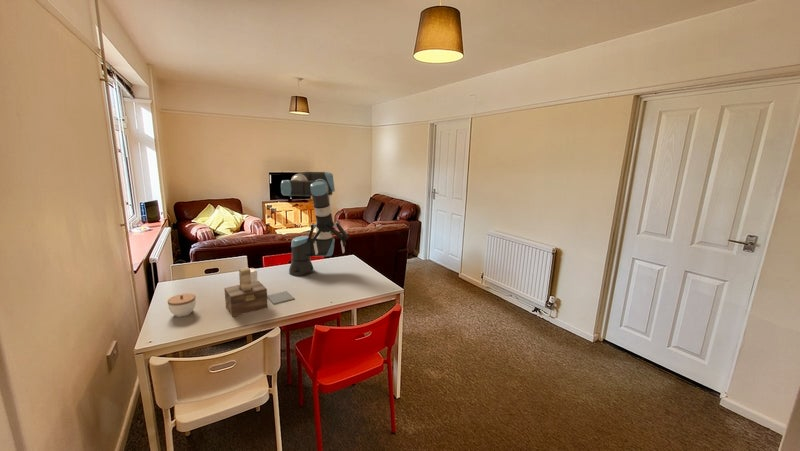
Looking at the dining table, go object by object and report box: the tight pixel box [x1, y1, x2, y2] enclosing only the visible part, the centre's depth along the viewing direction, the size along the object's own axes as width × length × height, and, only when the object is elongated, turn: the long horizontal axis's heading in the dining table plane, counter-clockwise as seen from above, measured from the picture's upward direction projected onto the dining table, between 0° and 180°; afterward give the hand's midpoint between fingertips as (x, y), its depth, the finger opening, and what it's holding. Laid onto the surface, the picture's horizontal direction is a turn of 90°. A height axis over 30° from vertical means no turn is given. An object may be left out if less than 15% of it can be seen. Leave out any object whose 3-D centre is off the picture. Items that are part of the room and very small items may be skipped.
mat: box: [267, 290, 295, 305], centre depth 170 cm, size 11×11×1 cm
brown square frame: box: [223, 280, 268, 317], centre depth 157 cm, size 13×16×10 cm
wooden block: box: [238, 266, 251, 292], centre depth 156 cm, size 4×4×14 cm
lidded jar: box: [167, 293, 197, 318], centre depth 149 cm, size 11×11×9 cm
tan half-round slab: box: [248, 267, 259, 283], centre depth 176 cm, size 8×8×12 cm
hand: (330, 252), depth 163 cm, fingers open, 13 cm apart
